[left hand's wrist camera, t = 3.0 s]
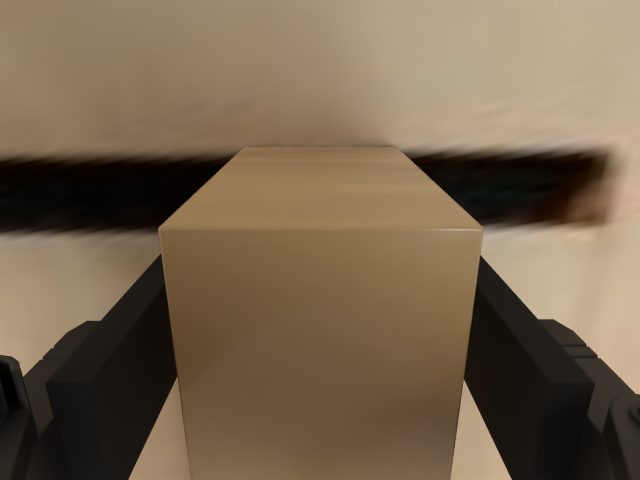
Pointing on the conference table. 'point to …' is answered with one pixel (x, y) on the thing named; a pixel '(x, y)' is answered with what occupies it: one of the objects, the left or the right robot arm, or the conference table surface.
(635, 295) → the conference table surface
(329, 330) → the bar
